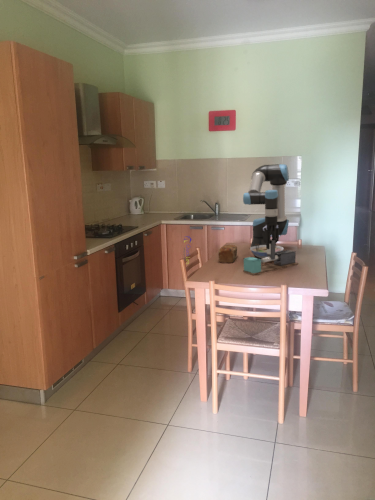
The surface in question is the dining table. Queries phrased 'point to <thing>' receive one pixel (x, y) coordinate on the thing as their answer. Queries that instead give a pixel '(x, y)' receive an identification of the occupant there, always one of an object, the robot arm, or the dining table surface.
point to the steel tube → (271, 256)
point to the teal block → (252, 265)
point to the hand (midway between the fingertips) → (271, 253)
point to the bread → (227, 253)
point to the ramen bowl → (263, 250)
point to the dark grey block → (285, 257)
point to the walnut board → (270, 268)
